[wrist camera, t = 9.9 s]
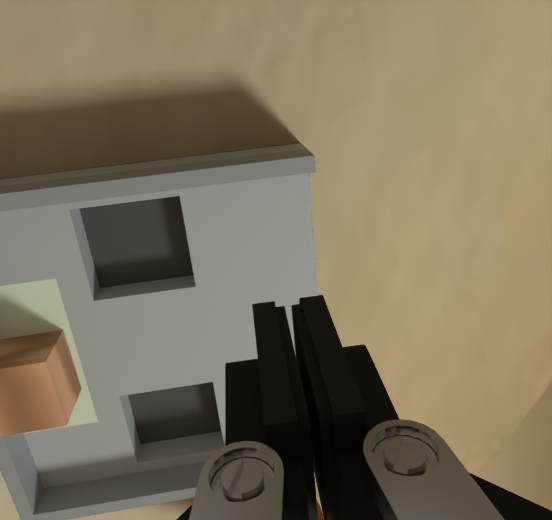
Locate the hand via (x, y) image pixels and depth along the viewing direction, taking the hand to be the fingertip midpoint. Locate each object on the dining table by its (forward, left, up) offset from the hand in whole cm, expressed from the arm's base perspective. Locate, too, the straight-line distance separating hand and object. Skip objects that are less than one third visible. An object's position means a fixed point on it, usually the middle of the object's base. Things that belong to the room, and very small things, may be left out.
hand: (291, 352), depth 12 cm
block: (+16, +12, -22) cm, 29 cm away
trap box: (+8, +12, -24) cm, 28 cm away
